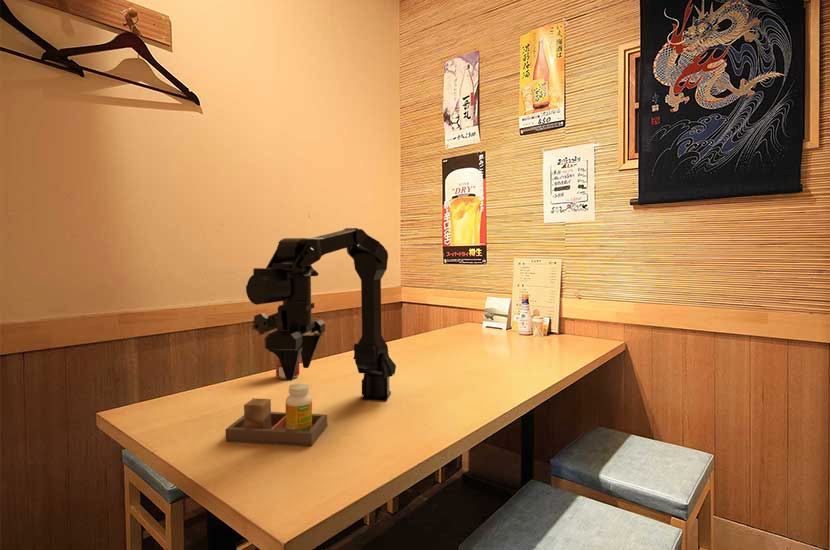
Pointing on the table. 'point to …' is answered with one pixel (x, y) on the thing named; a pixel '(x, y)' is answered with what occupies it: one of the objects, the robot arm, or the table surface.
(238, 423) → the tray
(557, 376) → the table surface
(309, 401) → the supplement bottle
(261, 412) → the walnut block
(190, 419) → the table surface
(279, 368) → the soda can
